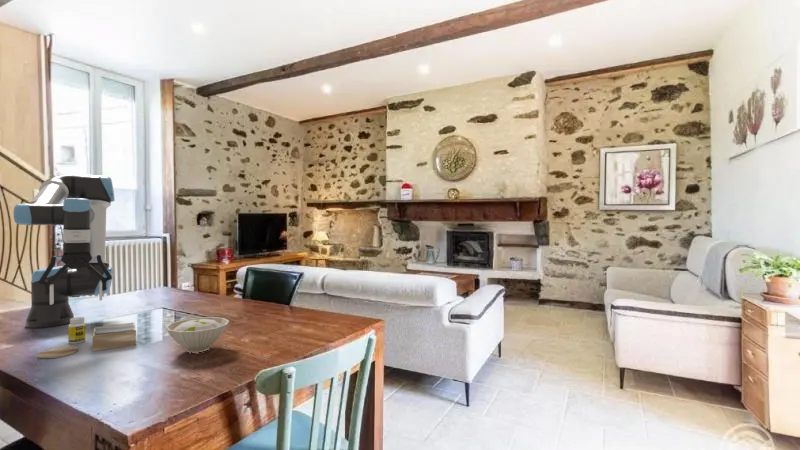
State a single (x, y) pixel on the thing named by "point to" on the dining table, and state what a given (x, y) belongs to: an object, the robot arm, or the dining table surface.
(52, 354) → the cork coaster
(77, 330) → the supplement bottle
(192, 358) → the dining table surface
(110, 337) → the beech block
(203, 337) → the bowl
